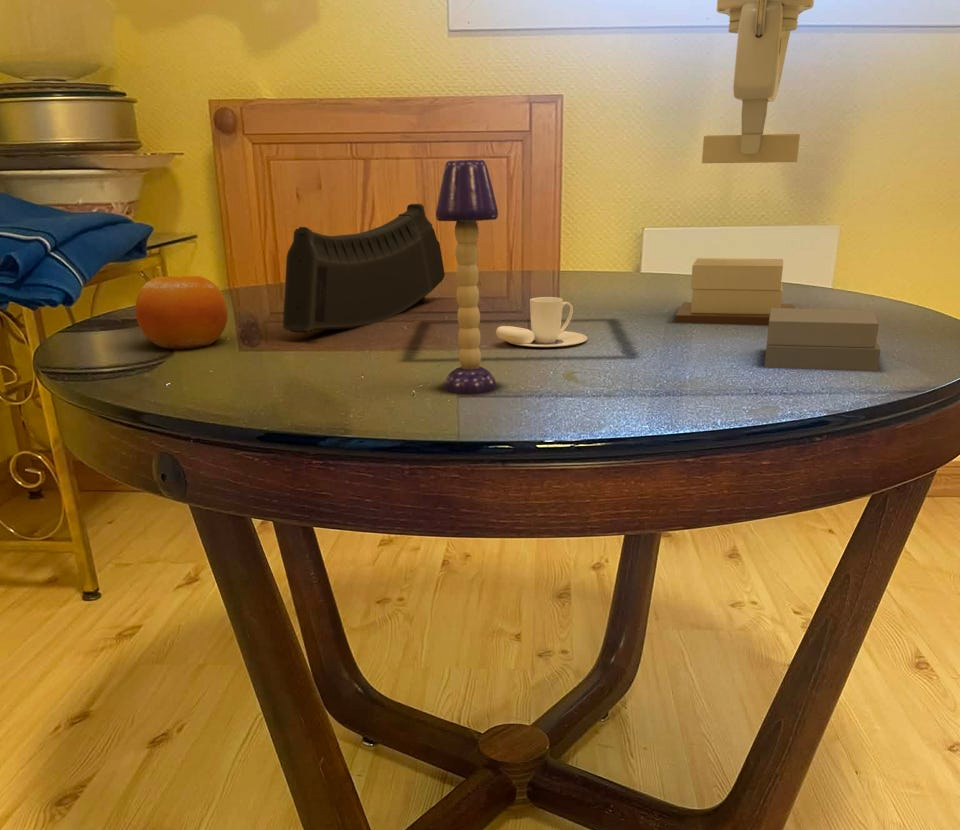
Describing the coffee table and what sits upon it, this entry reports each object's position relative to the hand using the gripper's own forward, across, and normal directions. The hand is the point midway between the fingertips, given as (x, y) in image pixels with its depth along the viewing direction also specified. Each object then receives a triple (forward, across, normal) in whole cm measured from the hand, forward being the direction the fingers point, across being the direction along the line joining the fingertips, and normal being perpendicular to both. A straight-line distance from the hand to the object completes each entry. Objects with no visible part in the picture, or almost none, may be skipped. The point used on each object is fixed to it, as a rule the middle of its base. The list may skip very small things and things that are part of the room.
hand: (750, 153), depth 100 cm
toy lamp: (+16, -37, +19) cm, 44 cm away
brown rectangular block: (+16, -22, -8) cm, 28 cm away
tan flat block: (+1, 0, 0) cm, 1 cm away
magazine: (+16, -6, +39) cm, 43 cm away
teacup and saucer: (+16, -16, +20) cm, 30 cm away
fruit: (+16, -24, +52) cm, 59 cm away
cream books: (+16, 0, 0) cm, 16 cm away
